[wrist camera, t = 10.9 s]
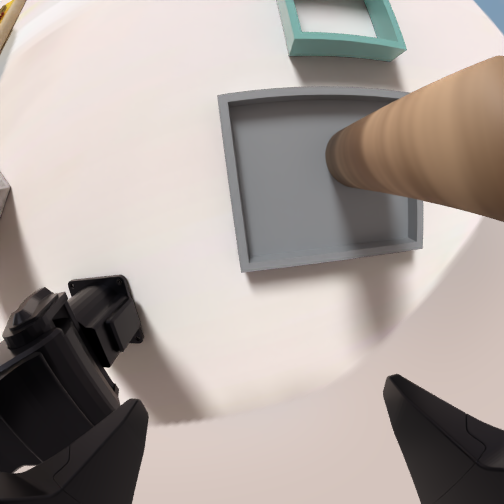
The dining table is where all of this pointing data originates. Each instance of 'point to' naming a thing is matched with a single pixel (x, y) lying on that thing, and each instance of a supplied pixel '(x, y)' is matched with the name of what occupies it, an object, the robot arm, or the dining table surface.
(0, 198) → the coffee box
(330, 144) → the brown tall rounded cylinder
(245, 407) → the dining table surface
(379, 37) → the teal square frame
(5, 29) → the pizza slice
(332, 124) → the tray
